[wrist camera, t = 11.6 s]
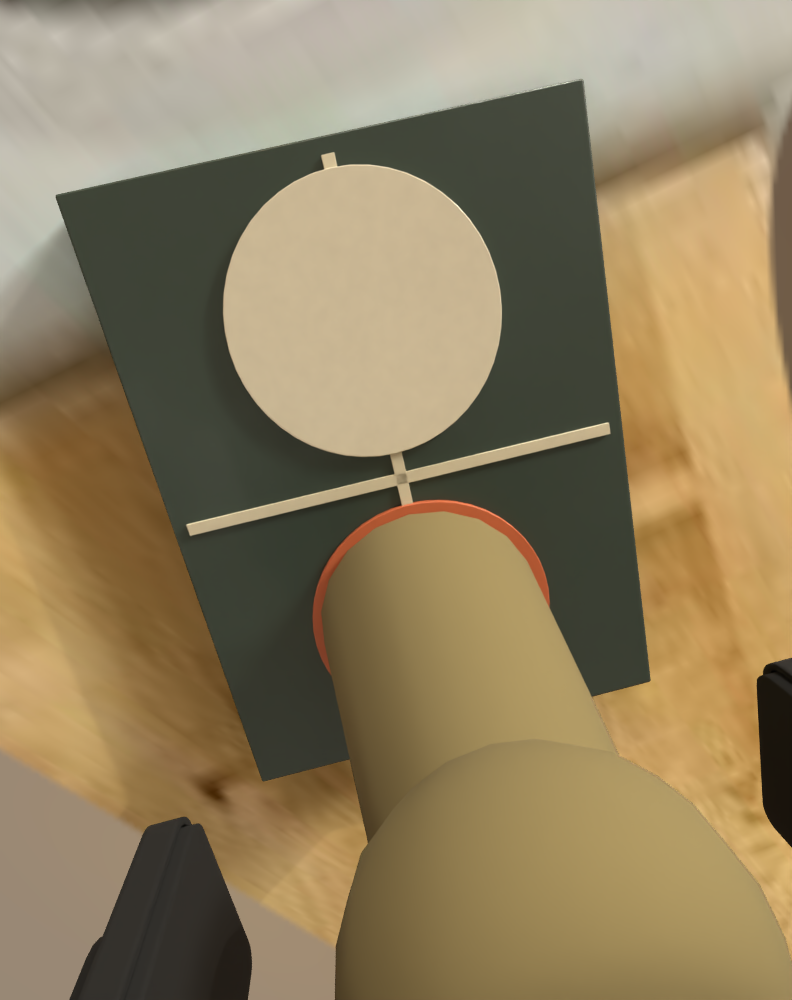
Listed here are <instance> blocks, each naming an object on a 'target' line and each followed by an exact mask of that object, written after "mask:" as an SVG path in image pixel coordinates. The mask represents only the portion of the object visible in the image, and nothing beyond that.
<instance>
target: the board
mask: <svg viewBox="0 0 792 1000" xmlns="http://www.w3.org/2000/svg"><path fill="white" fill-rule="evenodd" d="M56 200H57V203H58V205H59V208H60V211H61V214H62V217H63V219H64V222H65V225H66V228H67V231H68V234H69V236H70V239H71V242H72V245H73V248H74V251H75V253H76V256H77V259H78V262H79V265H80V267H81V270H82V273H83V276H84V279H85V282H86V284H87V287H88V290H89V293H90V296H91V299H92V301H93V304H94V307H95V310H96V313H97V315H98V318H99V321H100V324H101V327H102V330H103V332H104V335H105V338H106V341H107V344H108V347H109V349H110V352H111V355H112V358H113V361H114V363H115V366H116V369H117V372H118V375H119V378H120V380H121V383H122V386H123V389H124V392H125V395H126V397H127V400H128V403H129V406H130V409H131V411H132V414H133V417H134V420H135V423H136V426H137V428H138V431H139V434H140V437H141V440H142V442H143V445H144V448H145V451H146V454H147V457H148V459H149V462H150V465H151V468H152V471H153V474H154V476H155V479H156V482H157V485H158V488H159V490H160V493H161V496H162V499H163V502H164V505H165V507H166V510H167V513H168V516H169V519H170V522H171V524H172V527H173V530H174V533H175V536H176V538H177V541H178V544H179V547H180V550H181V553H182V555H183V558H184V561H185V564H186V567H187V570H188V572H189V575H190V578H191V581H192V584H193V586H194V589H195V592H196V595H197V598H198V601H199V603H200V606H201V609H202V612H203V615H204V618H205V620H206V623H207V626H208V629H209V632H210V634H211V637H212V640H213V643H214V646H215V649H216V651H217V654H218V657H219V660H220V663H221V665H222V668H223V671H224V674H225V677H226V680H227V682H228V685H229V688H230V691H231V694H232V697H233V699H234V702H235V705H236V708H237V711H238V713H239V716H240V719H241V722H242V725H243V728H244V730H245V733H246V736H247V739H248V742H249V745H250V747H251V750H252V753H253V756H254V759H255V761H256V764H257V767H258V770H259V773H260V776H261V778H262V781H267V780H271V779H275V778H279V777H283V776H287V775H290V774H294V773H298V772H302V771H306V770H310V769H314V768H318V767H321V766H325V765H329V764H333V763H337V762H341V761H345V760H349V759H350V758H349V753H348V749H347V744H346V740H345V735H344V730H343V726H342V721H341V717H340V712H339V708H338V703H337V699H336V694H335V689H334V685H333V680H332V676H331V671H330V667H329V662H328V657H327V653H326V648H325V644H324V635H323V625H322V616H321V610H322V606H323V602H324V598H325V594H326V589H327V585H328V581H329V579H330V577H331V576H332V574H333V573H334V571H335V569H336V568H337V566H338V565H339V563H340V562H341V560H342V558H343V557H344V555H345V554H346V552H347V551H348V550H349V549H350V548H351V547H353V546H354V545H355V544H356V543H357V542H359V541H360V540H361V539H362V538H364V537H365V536H366V535H367V534H368V533H370V532H371V531H372V530H373V529H375V528H376V527H379V526H381V525H384V524H386V523H389V522H391V521H394V520H396V519H399V518H401V517H404V516H406V515H408V514H419V513H431V512H442V511H445V512H450V513H454V514H459V515H463V516H467V517H472V518H476V519H479V520H481V521H483V522H484V523H486V524H488V525H489V526H491V527H492V528H494V529H496V530H497V531H499V532H501V533H502V534H504V535H506V536H507V537H508V538H509V539H510V541H511V542H512V543H513V544H514V546H515V547H516V548H517V549H518V550H519V552H520V553H521V554H522V555H523V557H524V558H525V559H526V560H527V562H528V564H529V566H530V568H531V570H532V572H533V574H534V576H535V579H536V581H537V583H538V585H539V587H540V589H541V591H542V593H543V595H544V598H545V600H546V602H547V604H548V606H549V608H550V610H551V612H552V614H553V616H554V619H555V621H556V623H557V625H558V627H559V629H560V631H561V633H562V635H563V638H564V640H565V642H566V644H567V646H568V648H569V650H570V652H571V654H572V656H573V659H574V661H575V663H576V665H577V667H578V669H579V671H580V673H581V675H582V677H583V680H584V682H585V684H586V686H587V688H588V690H589V692H590V694H591V696H596V695H600V694H604V693H608V692H612V691H615V690H619V689H623V688H627V687H631V686H635V685H639V684H643V683H646V682H650V671H649V662H648V653H647V644H646V635H645V626H644V617H643V608H642V599H641V591H640V582H639V573H638V564H637V555H636V546H635V537H634V528H633V519H632V510H631V501H630V492H629V483H628V474H627V466H626V457H625V448H624V439H623V430H622V421H621V412H620V403H619V394H618V385H617V376H616V367H615V358H614V349H613V340H612V332H611V323H610V314H609V305H608V296H607V287H606V278H605V269H604V260H603V251H602V242H601V233H600V224H599V215H598V207H597V198H596V189H595V180H594V171H593V162H592V153H591V144H590V135H589V126H588V117H587V108H586V99H585V90H584V82H583V79H579V80H574V81H570V82H565V83H561V84H556V85H551V86H547V87H542V88H538V89H533V90H529V91H524V92H520V93H515V94H511V95H506V96H502V97H497V98H493V99H488V100H484V101H479V102H474V103H470V104H465V105H461V106H456V107H452V108H447V109H443V110H438V111H434V112H429V113H425V114H420V115H416V116H411V117H407V118H402V119H398V120H393V121H388V122H384V123H379V124H375V125H370V126H366V127H361V128H357V129H352V130H348V131H343V132H339V133H334V134H330V135H325V136H321V137H316V138H311V139H307V140H302V141H298V142H293V143H289V144H284V145H280V146H275V147H271V148H266V149H262V150H257V151H253V152H248V153H244V154H239V155H235V156H230V157H225V158H221V159H216V160H212V161H207V162H203V163H198V164H194V165H189V166H185V167H180V168H176V169H171V170H167V171H162V172H158V173H153V174H149V175H144V176H139V177H135V178H130V179H126V180H121V181H117V182H112V183H108V184H103V185H99V186H94V187H90V188H85V189H81V190H76V191H72V192H67V193H62V194H58V195H56Z"/></svg>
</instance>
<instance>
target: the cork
mask: <svg viewBox="0 0 792 1000" xmlns="http://www.w3.org/2000/svg"><path fill="white" fill-rule="evenodd" d="M321 616H322V625H323V635H324V644H325V648H326V653H327V657H328V662H329V667H330V671H331V676H332V680H333V685H334V689H335V694H336V699H337V703H338V708H339V712H340V717H341V721H342V726H343V730H344V735H345V740H346V744H347V749H348V753H349V758H350V762H351V767H352V772H353V776H354V781H355V785H356V790H357V794H358V799H359V804H360V808H361V813H362V817H363V822H364V826H365V831H366V835H367V840H368V844H367V846H366V847H365V849H364V850H363V851H362V853H361V856H360V859H359V863H358V866H357V869H356V873H355V876H354V880H353V883H352V886H351V890H350V893H349V896H348V900H347V904H346V908H345V912H344V916H343V920H342V924H341V928H340V932H339V936H338V940H337V944H336V972H335V973H336V974H335V1000H792V961H791V957H790V953H789V950H788V946H787V942H786V938H785V936H784V934H783V932H782V930H781V928H780V926H779V924H778V922H777V919H776V917H775V915H774V913H773V911H772V909H771V907H770V905H769V903H768V901H767V899H766V897H765V894H764V892H763V890H762V888H761V886H760V884H759V883H758V882H757V881H756V879H755V878H754V877H753V876H752V874H751V873H750V872H749V871H748V869H747V868H746V867H745V866H744V864H743V863H742V862H741V861H740V860H739V858H738V857H737V856H736V855H735V853H734V852H733V851H732V850H731V848H730V847H729V846H728V845H727V843H726V842H725V841H724V840H723V838H722V837H721V836H720V835H719V834H718V833H717V831H716V830H715V829H714V828H713V827H712V825H711V824H710V823H709V822H708V821H707V819H706V818H705V817H704V816H703V815H702V814H701V812H700V811H699V810H698V809H697V808H696V806H695V805H694V804H693V803H692V802H691V801H689V800H688V799H687V798H685V797H684V796H683V795H681V794H680V793H679V792H678V791H676V790H675V789H674V788H672V787H671V786H670V785H669V784H667V783H666V782H665V781H663V780H662V779H661V778H660V777H658V776H657V775H655V774H653V773H651V772H649V771H648V770H646V769H644V768H642V767H640V766H638V765H636V764H634V763H632V762H631V761H629V760H627V759H625V758H623V757H621V756H620V755H619V753H618V751H617V749H616V747H615V745H614V743H613V741H612V739H611V736H610V734H609V732H608V730H607V728H606V726H605V724H604V722H603V720H602V717H601V715H600V713H599V711H598V709H597V707H596V705H595V703H594V701H593V699H592V696H591V694H590V692H589V690H588V688H587V686H586V684H585V682H584V680H583V677H582V675H581V673H580V671H579V669H578V667H577V665H576V663H575V661H574V659H573V656H572V654H571V652H570V650H569V648H568V646H567V644H566V642H565V640H564V638H563V635H562V633H561V631H560V629H559V627H558V625H557V623H556V621H555V619H554V616H553V614H552V612H551V610H550V608H549V606H548V604H547V602H546V600H545V598H544V595H543V593H542V591H541V589H540V587H539V585H538V583H537V581H536V579H535V576H534V574H533V572H532V570H531V568H530V566H529V564H528V562H527V560H526V559H525V558H524V557H523V555H522V554H521V553H520V552H519V550H518V549H517V548H516V547H515V546H514V544H513V543H512V542H511V541H510V539H509V538H508V537H507V536H506V535H504V534H502V533H501V532H499V531H497V530H496V529H494V528H492V527H491V526H489V525H488V524H486V523H484V522H483V521H481V520H479V519H476V518H472V517H467V516H463V515H459V514H454V513H450V512H445V511H442V512H431V513H419V514H408V515H406V516H404V517H401V518H399V519H396V520H394V521H391V522H389V523H386V524H384V525H381V526H379V527H376V528H375V529H373V530H372V531H371V532H370V533H368V534H367V535H366V536H365V537H364V538H362V539H361V540H360V541H359V542H357V543H356V544H355V545H354V546H353V547H351V548H350V549H349V550H348V551H347V552H346V554H345V555H344V557H343V558H342V560H341V562H340V563H339V565H338V566H337V568H336V569H335V571H334V573H333V574H332V576H331V577H330V579H329V581H328V585H327V589H326V594H325V598H324V602H323V606H322V610H321Z"/></svg>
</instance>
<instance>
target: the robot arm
mask: <svg viewBox="0 0 792 1000" xmlns="http://www.w3.org/2000/svg"><path fill="white" fill-rule="evenodd" d="M757 700H758V720H759V739H760V759H761V778H762V797H763V807H764V810H765V813H766V815H767V817H768V819H769V821H770V822H771V824H772V825H773V827H774V828H775V829H776V830H777V832H778V833H779V834H780V835H781V836H782V837H783V838H784V839H785V840H786V842H787V843H788V844H789V845H790V846H791V847H792V658H789V659H785V660H782V661H778V662H774V663H770V664H768V665H766V666H765V668H764V670H763V675H762V676H760V677H758V679H757ZM251 970H252V957H251V949H250V944H249V941H248V939H247V936H246V934H245V931H244V929H243V926H242V924H241V921H240V919H239V916H238V914H237V911H236V909H235V906H234V904H233V901H232V899H231V896H230V894H229V891H228V889H227V886H226V884H225V881H224V879H223V876H222V874H221V871H220V869H219V866H218V864H217V861H216V859H215V856H214V854H213V851H212V849H211V846H210V844H209V841H208V839H207V836H206V834H205V831H204V829H203V827H202V825H200V824H193V825H192V824H191V822H190V820H189V819H188V818H187V817H181V818H177V819H173V820H169V821H166V822H162V823H158V824H154V825H150V826H149V827H147V828H146V830H145V832H144V833H143V835H142V838H141V841H140V843H139V846H138V848H137V851H136V853H135V856H134V858H133V861H132V863H131V866H130V868H129V871H128V874H127V876H126V879H125V881H124V884H123V886H122V889H121V891H120V894H119V896H118V899H117V902H116V904H115V907H114V909H113V912H112V914H111V917H110V919H109V922H108V924H107V927H106V929H105V932H104V934H103V937H100V938H99V939H98V940H97V942H96V943H95V944H94V945H93V946H92V948H91V950H90V952H89V954H88V956H87V958H86V960H85V963H84V965H83V968H82V970H81V973H80V975H79V978H78V980H77V982H76V985H75V987H74V990H73V992H72V995H71V997H70V1000H248V994H249V986H250V979H251Z"/></svg>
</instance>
